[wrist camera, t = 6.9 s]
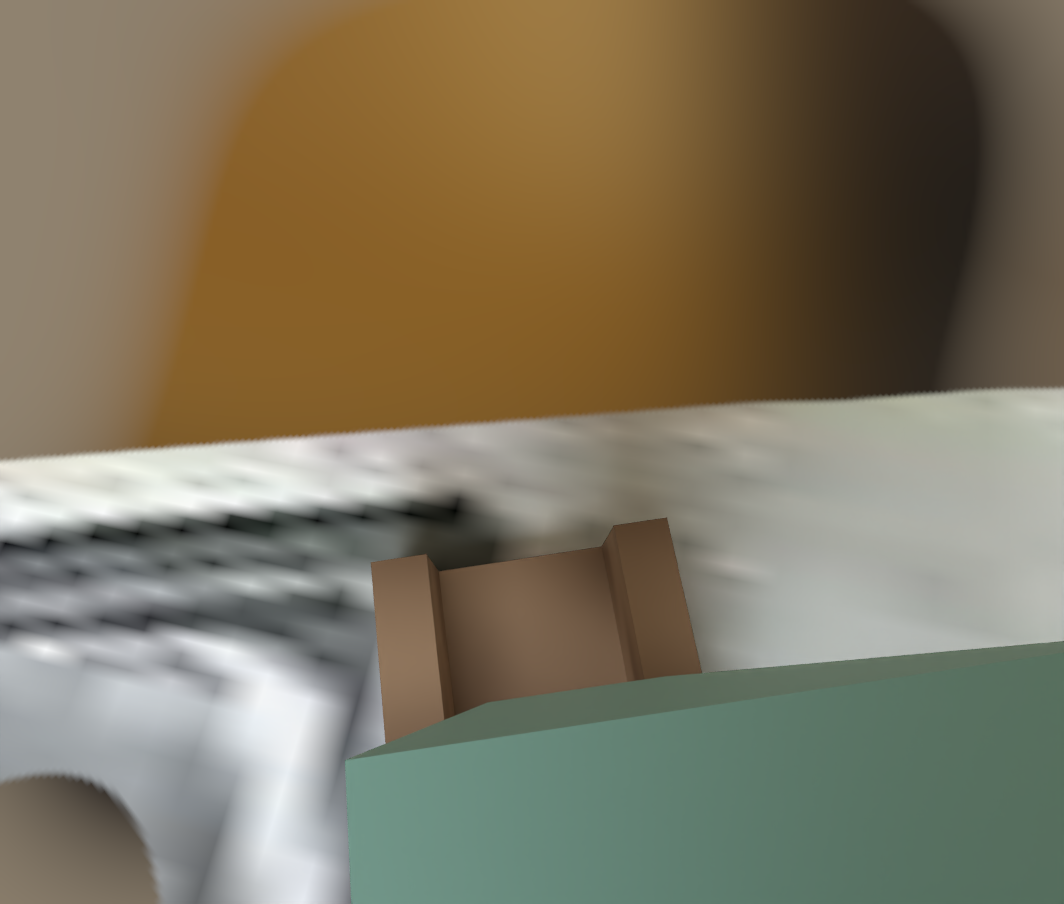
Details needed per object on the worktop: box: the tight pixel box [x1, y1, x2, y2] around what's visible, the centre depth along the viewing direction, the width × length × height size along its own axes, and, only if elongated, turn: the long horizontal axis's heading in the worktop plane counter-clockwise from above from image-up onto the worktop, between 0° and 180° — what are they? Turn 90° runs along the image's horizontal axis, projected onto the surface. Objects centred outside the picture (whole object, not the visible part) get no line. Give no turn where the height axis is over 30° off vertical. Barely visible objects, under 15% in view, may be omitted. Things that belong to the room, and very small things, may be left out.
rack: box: [371, 518, 702, 743], centre depth 19 cm, size 12×8×4 cm
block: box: [345, 641, 1064, 904], centre depth 8 cm, size 4×4×13 cm
